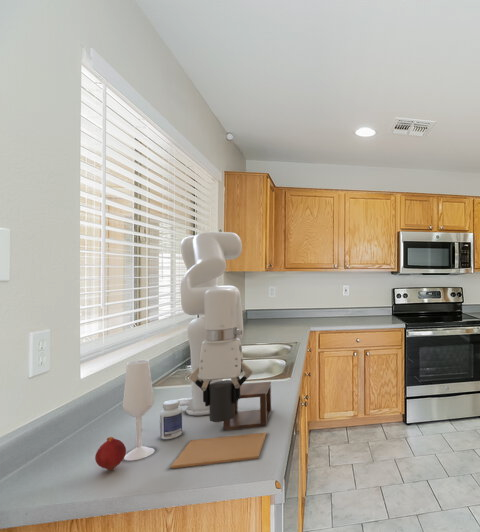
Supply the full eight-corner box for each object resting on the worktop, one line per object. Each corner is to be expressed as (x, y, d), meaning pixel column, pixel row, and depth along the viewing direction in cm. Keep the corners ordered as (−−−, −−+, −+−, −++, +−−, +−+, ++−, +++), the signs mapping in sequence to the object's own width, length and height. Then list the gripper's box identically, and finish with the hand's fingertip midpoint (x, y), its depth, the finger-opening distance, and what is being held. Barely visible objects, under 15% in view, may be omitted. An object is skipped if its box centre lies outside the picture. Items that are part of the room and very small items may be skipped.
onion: (107, 464, 92) (106, 431, 92) (131, 462, 93) (131, 430, 93) (89, 477, 86) (89, 442, 87) (115, 475, 87) (115, 441, 87)
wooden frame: (223, 430, 111) (222, 396, 111) (233, 415, 122) (232, 384, 122) (266, 426, 113) (265, 393, 113) (271, 411, 125) (270, 381, 125)
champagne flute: (160, 447, 101) (159, 358, 101) (143, 460, 94) (142, 364, 94) (135, 448, 100) (133, 359, 100) (116, 461, 94) (115, 365, 94)
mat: (170, 468, 90) (170, 466, 90) (190, 442, 103) (190, 440, 103) (258, 458, 94) (258, 456, 94) (266, 434, 107) (266, 432, 107)
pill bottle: (186, 432, 109) (186, 399, 109) (170, 440, 104) (169, 406, 104) (172, 430, 111) (172, 397, 111) (155, 438, 106) (155, 404, 106)
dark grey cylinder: (206, 423, 95) (206, 388, 95) (213, 414, 101) (212, 381, 101) (231, 421, 96) (231, 386, 96) (237, 412, 102) (236, 379, 102)
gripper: (257, 331, 104) (259, 395, 104) (190, 334, 100) (191, 401, 100) (252, 335, 97) (254, 405, 96) (179, 339, 93) (181, 411, 93)
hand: (222, 402), depth 98 cm, fingers closed on dark grey cylinder, 6 cm apart
